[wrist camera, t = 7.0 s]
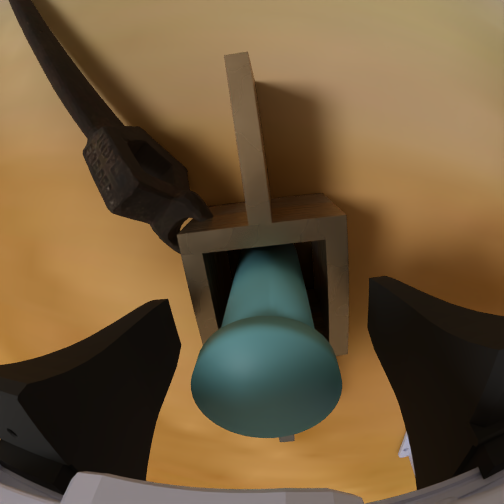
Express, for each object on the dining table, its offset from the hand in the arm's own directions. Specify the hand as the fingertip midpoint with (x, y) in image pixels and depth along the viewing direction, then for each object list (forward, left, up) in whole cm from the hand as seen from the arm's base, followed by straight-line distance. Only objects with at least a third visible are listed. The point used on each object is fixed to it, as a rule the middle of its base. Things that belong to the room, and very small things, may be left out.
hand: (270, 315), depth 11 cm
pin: (0, 0, -6) cm, 6 cm away
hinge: (0, 0, -6) cm, 6 cm away
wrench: (+16, +9, -6) cm, 19 cm away
